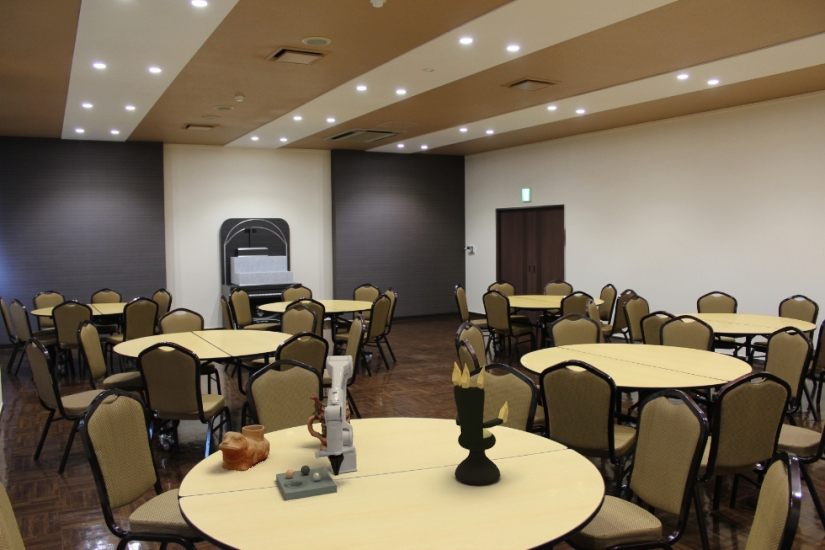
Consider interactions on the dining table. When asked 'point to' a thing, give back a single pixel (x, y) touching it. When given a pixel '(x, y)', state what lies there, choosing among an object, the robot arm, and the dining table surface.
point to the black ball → (305, 470)
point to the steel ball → (316, 476)
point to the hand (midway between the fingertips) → (336, 474)
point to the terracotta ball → (289, 473)
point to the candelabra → (475, 429)
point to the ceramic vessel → (244, 448)
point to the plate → (305, 484)
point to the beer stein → (322, 420)
